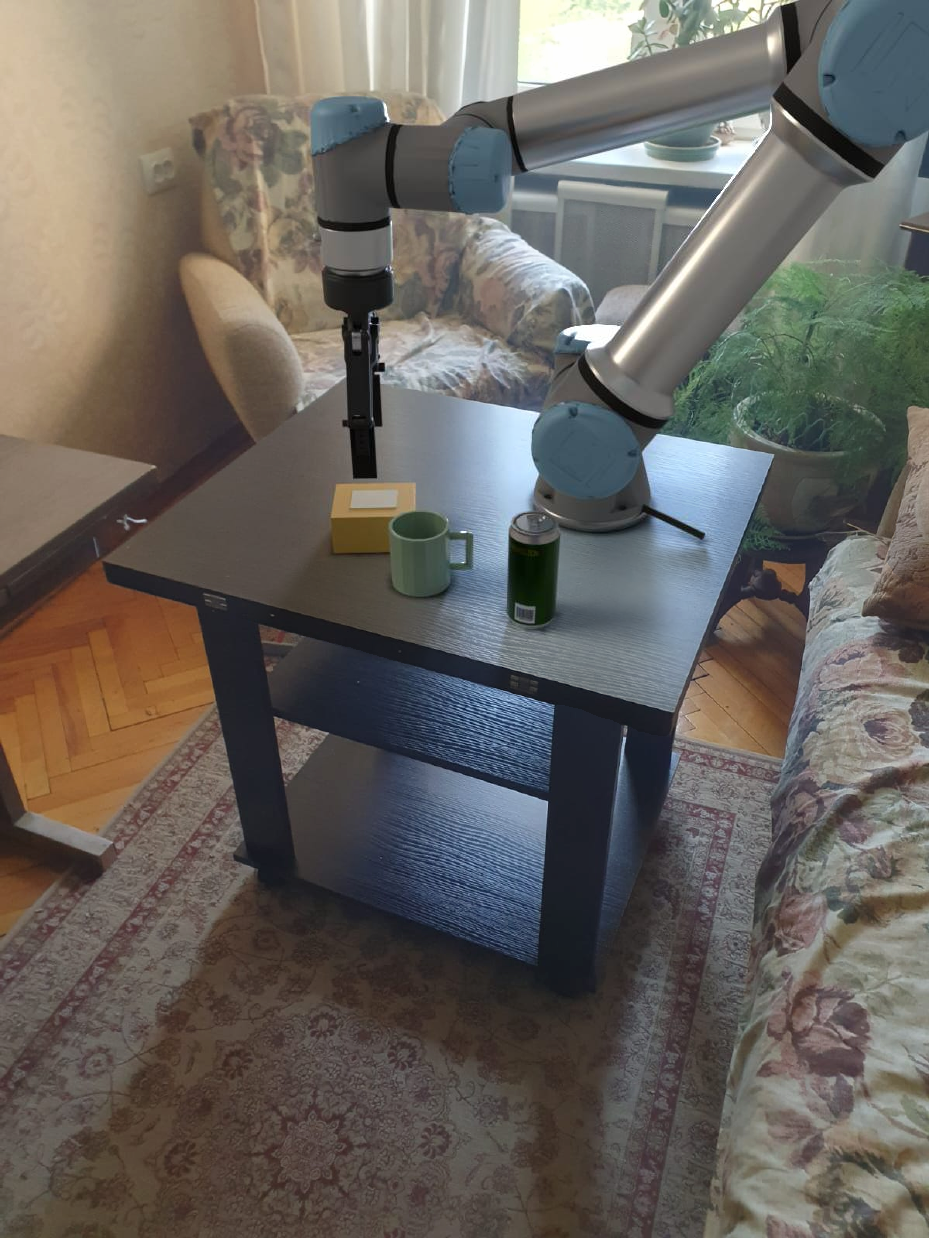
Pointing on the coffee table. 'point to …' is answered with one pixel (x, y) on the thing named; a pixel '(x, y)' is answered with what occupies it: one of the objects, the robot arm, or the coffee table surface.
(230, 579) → the coffee table surface
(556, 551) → the beer can
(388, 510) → the tea packet
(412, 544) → the cup
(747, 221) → the robot arm
